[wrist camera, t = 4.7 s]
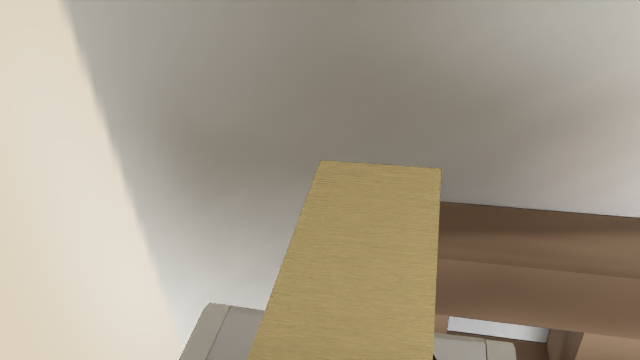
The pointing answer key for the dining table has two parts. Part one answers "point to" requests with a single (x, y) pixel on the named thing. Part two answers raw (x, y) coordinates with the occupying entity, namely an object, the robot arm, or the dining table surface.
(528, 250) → the wooden slotted board
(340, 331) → the square bit
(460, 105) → the dining table surface
